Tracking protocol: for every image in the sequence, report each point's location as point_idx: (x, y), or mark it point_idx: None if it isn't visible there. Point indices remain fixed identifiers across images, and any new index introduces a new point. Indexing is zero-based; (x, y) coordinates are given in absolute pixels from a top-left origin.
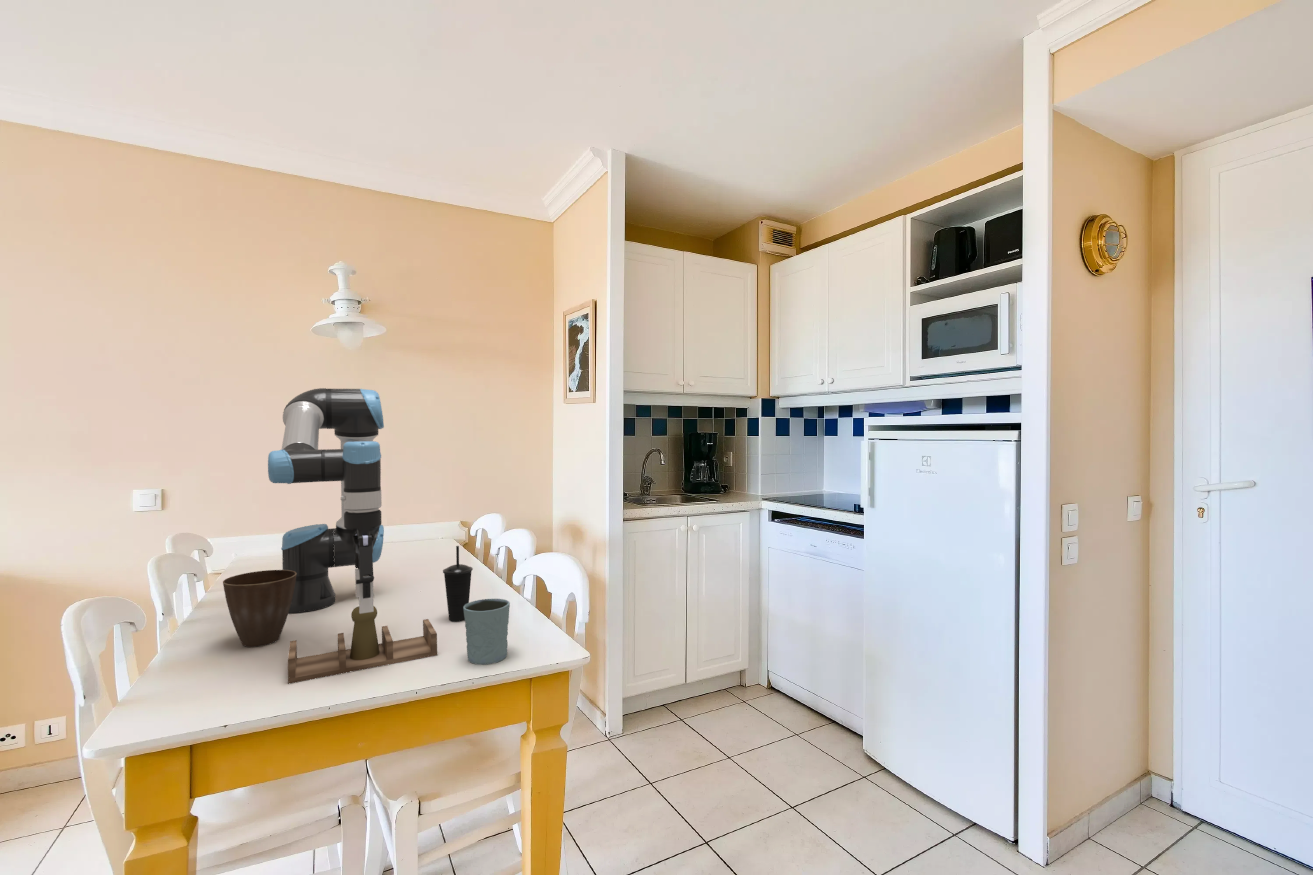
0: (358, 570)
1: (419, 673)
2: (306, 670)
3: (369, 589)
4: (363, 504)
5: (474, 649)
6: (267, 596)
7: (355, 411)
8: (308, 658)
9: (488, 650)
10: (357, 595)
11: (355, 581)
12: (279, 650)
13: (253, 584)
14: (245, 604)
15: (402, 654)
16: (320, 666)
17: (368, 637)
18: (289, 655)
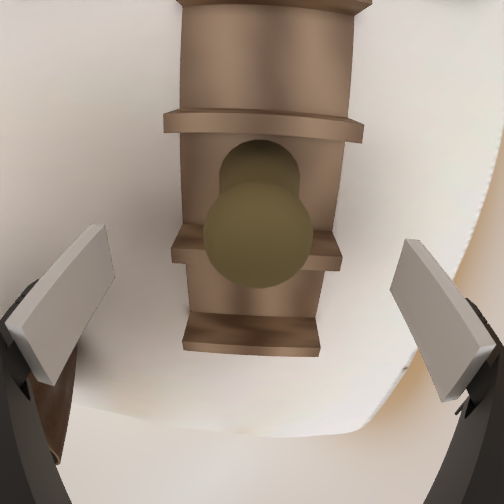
0: (49, 368)
1: (445, 87)
2: (286, 300)
3: (489, 332)
4: None
5: None
6: (50, 415)
7: None
8: (206, 294)
9: None
10: (111, 276)
11: (80, 331)
12: (104, 321)
13: (55, 454)
14: (67, 424)
15: (324, 86)
16: None
17: (297, 192)
18: (292, 354)
